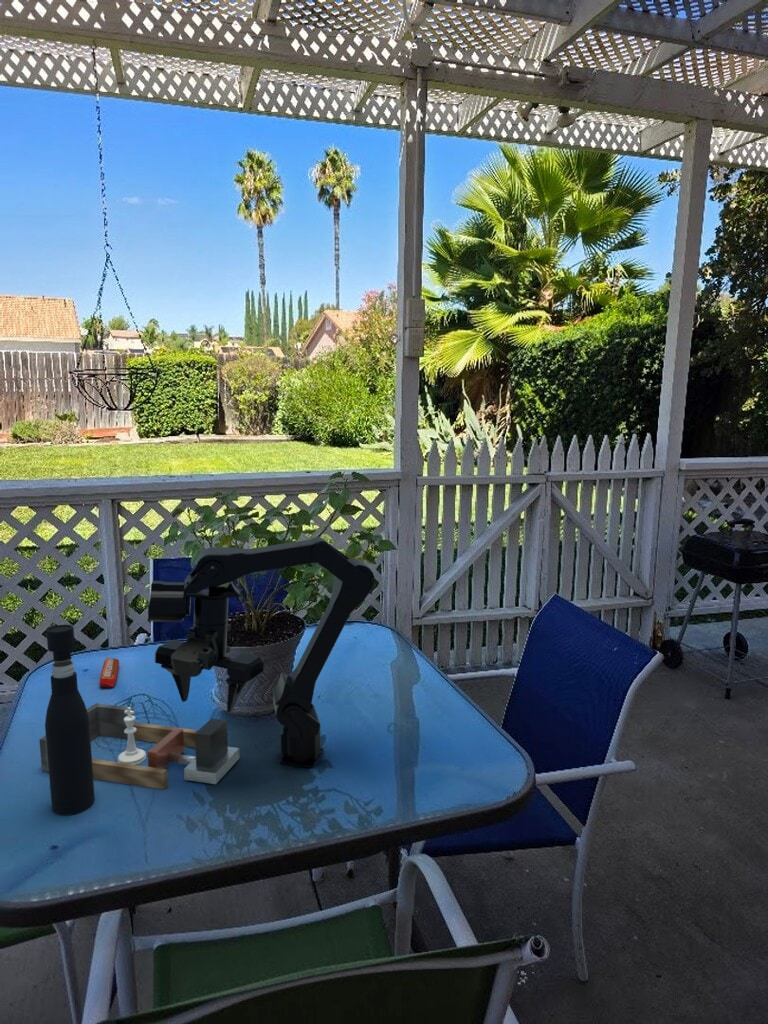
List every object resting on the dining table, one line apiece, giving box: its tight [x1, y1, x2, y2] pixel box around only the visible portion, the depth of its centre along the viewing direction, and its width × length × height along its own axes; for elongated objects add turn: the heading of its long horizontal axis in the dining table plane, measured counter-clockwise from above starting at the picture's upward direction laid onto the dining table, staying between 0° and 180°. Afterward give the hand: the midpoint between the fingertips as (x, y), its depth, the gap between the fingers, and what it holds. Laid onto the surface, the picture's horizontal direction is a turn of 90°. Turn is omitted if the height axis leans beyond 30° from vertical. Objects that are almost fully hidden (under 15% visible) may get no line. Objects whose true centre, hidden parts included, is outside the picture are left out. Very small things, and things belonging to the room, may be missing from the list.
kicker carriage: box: [147, 718, 240, 785], centre depth 122 cm, size 13×9×8 cm
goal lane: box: [38, 703, 199, 790], centre depth 125 cm, size 25×15×6 cm, turn 76°
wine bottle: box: [44, 624, 96, 816], centre depth 109 cm, size 6×6×30 cm
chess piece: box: [117, 706, 147, 765], centre depth 125 cm, size 5×5×10 cm
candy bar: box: [98, 657, 120, 688], centre depth 164 cm, size 16×4×3 cm, turn 18°
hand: (207, 706), depth 120 cm, fingers open, 9 cm apart
